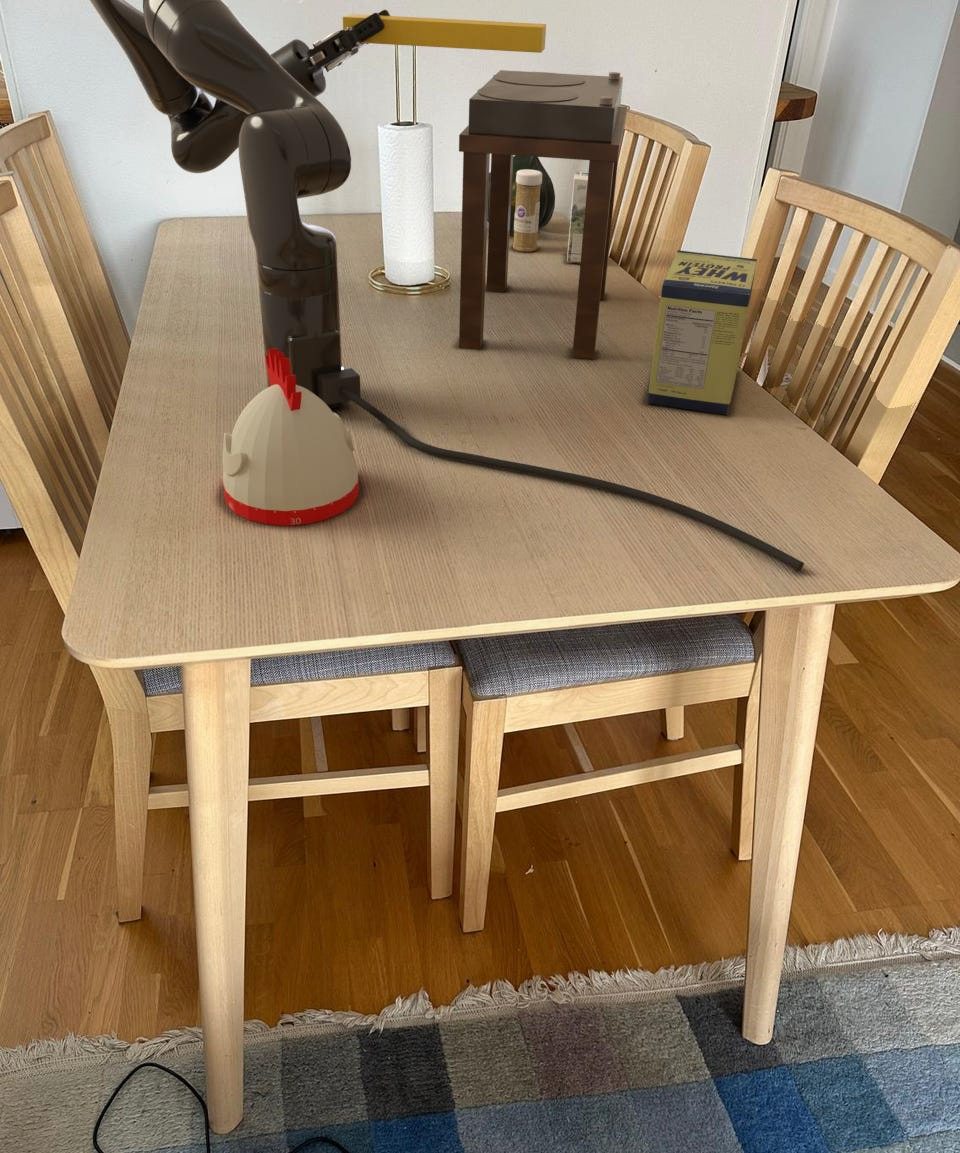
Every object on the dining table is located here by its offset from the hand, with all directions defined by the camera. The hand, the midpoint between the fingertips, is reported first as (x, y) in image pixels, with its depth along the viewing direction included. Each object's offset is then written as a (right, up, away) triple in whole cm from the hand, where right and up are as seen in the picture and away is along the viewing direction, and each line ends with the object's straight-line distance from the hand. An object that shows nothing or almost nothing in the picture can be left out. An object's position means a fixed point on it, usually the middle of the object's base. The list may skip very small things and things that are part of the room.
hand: (385, 18), depth 137 cm
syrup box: (+31, -19, +43) cm, 57 cm away
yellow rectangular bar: (+8, -3, +1) cm, 9 cm away
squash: (+20, -9, +59) cm, 62 cm away
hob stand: (+21, -36, +17) cm, 45 cm away
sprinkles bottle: (+21, -16, +48) cm, 55 cm away
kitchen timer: (-7, -67, -30) cm, 74 cm away
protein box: (+41, -51, -3) cm, 65 cm away
